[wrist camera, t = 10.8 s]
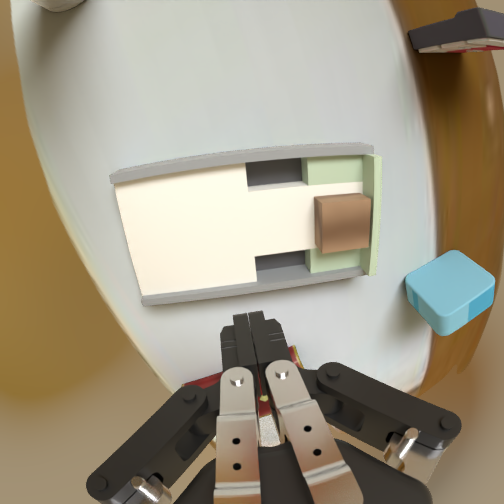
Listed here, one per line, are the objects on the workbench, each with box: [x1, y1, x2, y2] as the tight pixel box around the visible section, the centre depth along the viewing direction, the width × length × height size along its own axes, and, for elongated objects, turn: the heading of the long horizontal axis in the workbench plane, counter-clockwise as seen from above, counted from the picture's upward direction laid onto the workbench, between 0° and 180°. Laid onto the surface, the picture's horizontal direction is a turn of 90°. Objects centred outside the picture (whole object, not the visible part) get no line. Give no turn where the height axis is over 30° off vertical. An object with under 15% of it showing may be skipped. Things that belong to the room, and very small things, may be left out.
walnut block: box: [314, 193, 371, 254], centre depth 35 cm, size 6×6×3 cm
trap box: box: [109, 143, 382, 306], centre depth 35 cm, size 17×30×6 cm, turn 95°
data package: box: [405, 250, 495, 336], centre depth 40 cm, size 12×4×12 cm, turn 114°
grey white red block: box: [408, 8, 504, 53], centre depth 23 cm, size 11×4×15 cm, turn 108°
